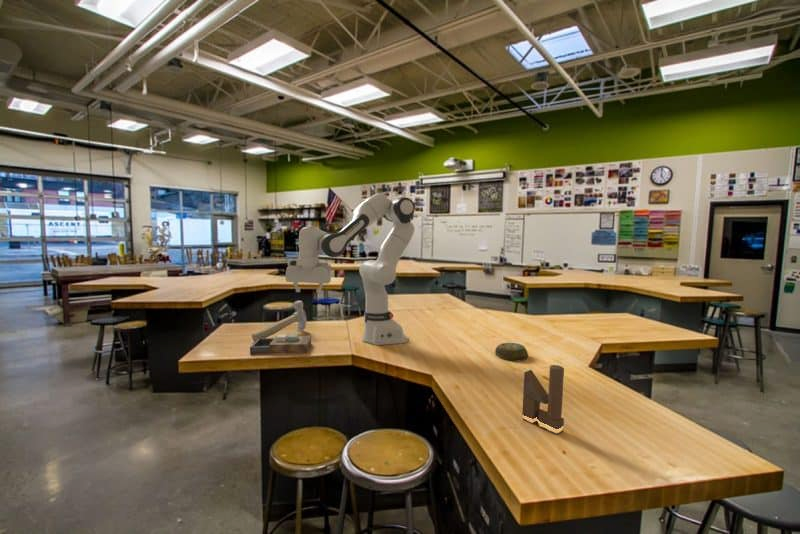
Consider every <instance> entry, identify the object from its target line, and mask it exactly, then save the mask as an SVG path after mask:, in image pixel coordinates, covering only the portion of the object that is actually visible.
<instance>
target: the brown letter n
mask: <svg viewBox="0 0 800 534" xmlns="http://www.w3.org/2000/svg"><path fill="white" fill-rule="evenodd" d="M564 374H565V368H564V367H563V366H562V365H559V364H551V365H550V366H549V375H548V393H547V391H546V389H545V387H544V386H543V385H542V383H541V382H540V380H539V379H538V378H537V376H536V375H535V372H533V369H529V370H526V371H524V372H523V391H522V392H523V395H522V396H523V398H522V415H524V416H527V417H529V418H532V419H534V418H536V417H537V419H538V420H539V421H540V422H542V423H544V424H547V425H549V426H551V427H553V428H555V429H559V428H561V427H562V426H564V425H565V424H564V423H565V419H564V418H563V417H562V413H563V412H562V410H563V395H564V378H565V377H564ZM541 404H543V405H547V410H544V409H542V408H541ZM522 415H521V416H522ZM564 427H565V426H564Z"/></svg>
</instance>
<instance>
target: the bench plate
mask: <svg viewBox="0 0 800 534" xmlns="http://www.w3.org/2000/svg"><path fill="white" fill-rule="evenodd" d="M277 336H278V335H276V336H275V337H273V338H274V339H273V341H272V342H271V343H270V344H269V354H273V355H275V354H278V355H279V354H307V353H308V352H309V349H310V348H311V346H312V335H298V340H297V341H288V336H289V335H287V340H286V341H279V342H276V337H277ZM269 354H268V355H269Z"/></svg>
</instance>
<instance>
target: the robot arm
mask: <svg viewBox="0 0 800 534" xmlns="http://www.w3.org/2000/svg"><path fill="white" fill-rule="evenodd" d="M415 210H416V206H415V202H414V201H413V200H412V199H411V198H409V197H407V196H401V197H398V198H393V199H389V198H388V196H387V195H386V194H384V193H382V192H377V193H374V194H372V195H371V196H369V197H367V198H366V199H364V200H363V201H362V202H361V203H359V204H358V205H357V206H356V208H355V209H354V210H353V211H352V219H351V220H350V222H349V223H348V224H347V225H345V226H344V227H343V228H342V229H341V230H339V232H335V233H328V232H326V231H324V230H322V229H321V228H319V227H318V226H316V225H310V226H304V227H302V228H301V229H300V230H299V234H298V249H299V251H298V258H294V259H291V260H288V261H287V267H286V270H285V277H284V278H285V281H286V282H287V283H292V285H293V287H294V288H295V293H301V287H299V286H298V284H299V283H303V284H304V283H307V284H318V286H319V287H318V288H316V289H315V290H316V291H315V293H316V294H320V293H321V289H322V288H323V286H324V284H325V285H327V284H329V283H331V281H332V278H331V277H332V276H331V271H332V266H331V264H329V263H328V262H319V254H322V255H325V256H328V257H330V258H338V257H340V256H341V255H343V253H344V252H345V250H346V248H347V247H348V245H349V244H350V243H351V241H353V240H354V239H355V238H356V237H357V236H358V235H359V234H360V233H361V232H362V231H364V230H365V229H366V228H368V227H370V226H371V225H372V224H374V223H375V222H376V221H378V220H379V219H380V218H381V217H383V218H384V219H385V220H387V222H390V223H392V228H391V230H389V232H388V234H387V236H386V237H385V239H384V240H383V241H382V243H381V245H380V248H379V249H380V250H379V254H378V256H377V259H376V260H375V259H369V260H366V261H363V262H362V263H361V265H360V266H359V270H358V272H359V275H360V276H361V280H362V283H363V289H364V296H365V310H364V315H363V316H364V319H363V320H364V330H363V335H362V339H361V340H362V342H365V343H368V344H372V345H375V346H381V345H382V346H383V345H384V346H385V345H394V344H396V345H397V344H406V343H407V342H408V341H409V339H408V336H407V334H406V333H404V330H403V327H402V325H401V324H400V323H399V322H397V321H396V320H394V319H393V318H394V313H393V312H392V311H389V295H388V292H387V291H386V287H385V286H387V285H391V284H392V283H393V282H394V281H395V280H396V277H397V271H396V270H397V266H398V263H399V260H400V258H401V257H402V254H403V253H404V252H405V250H406V249H407V247H408V246H409V244H410V242H411V240H412V237H413V235H414V232H415V225H414V224H413V222H412V221H413V220H414V214H415V212H416V211H415Z"/></svg>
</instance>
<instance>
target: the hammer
mask: <svg viewBox="0 0 800 534" xmlns="http://www.w3.org/2000/svg"><path fill="white" fill-rule="evenodd" d="M292 306H293V308H294V309H296V311H295V312H293V313H292V314H291V315H289V316H288V317H286V318H283V319H281V320H279V321H277V322H275V323H273V324H271V325H269V326H267V327H264V328H262V329H260V330H258V331H255V332H253V333H251V339H252V341H253V343H255V342H256V341H257V340H258V339H259V338H269V337H271V336H273V335H275V334H277V333H278V332H280V331H281V330H283V329H285V328H287V327H289V326H290V325H292V324H294V323H296V322H297V323H298V326H297V329H296V332H299V333H303V331H304V329H306V325H307V320H308V319H307V314H306V310H304V302H303V301H302V300H296V301H294V302H293V303H292Z"/></svg>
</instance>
